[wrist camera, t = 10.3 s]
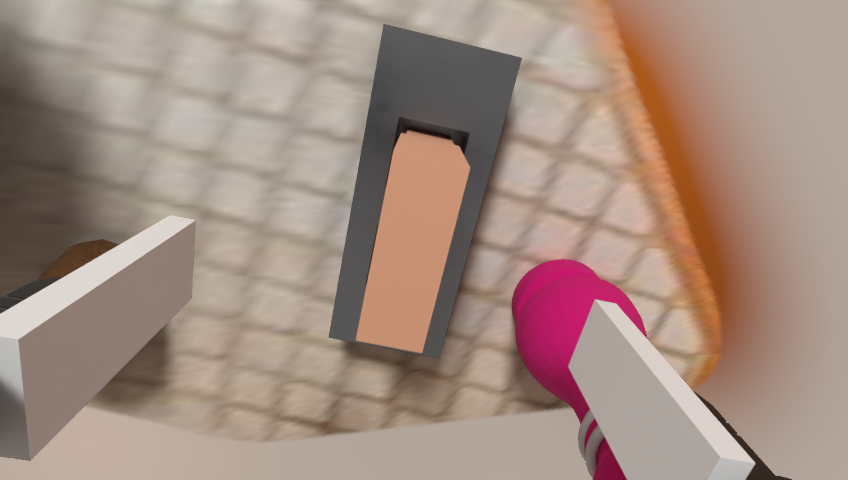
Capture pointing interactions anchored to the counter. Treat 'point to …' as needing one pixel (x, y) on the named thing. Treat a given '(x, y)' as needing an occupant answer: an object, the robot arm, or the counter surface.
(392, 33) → the rail
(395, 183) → the peach wedge-cut bar
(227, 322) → the counter surface
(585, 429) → the pepper mill
